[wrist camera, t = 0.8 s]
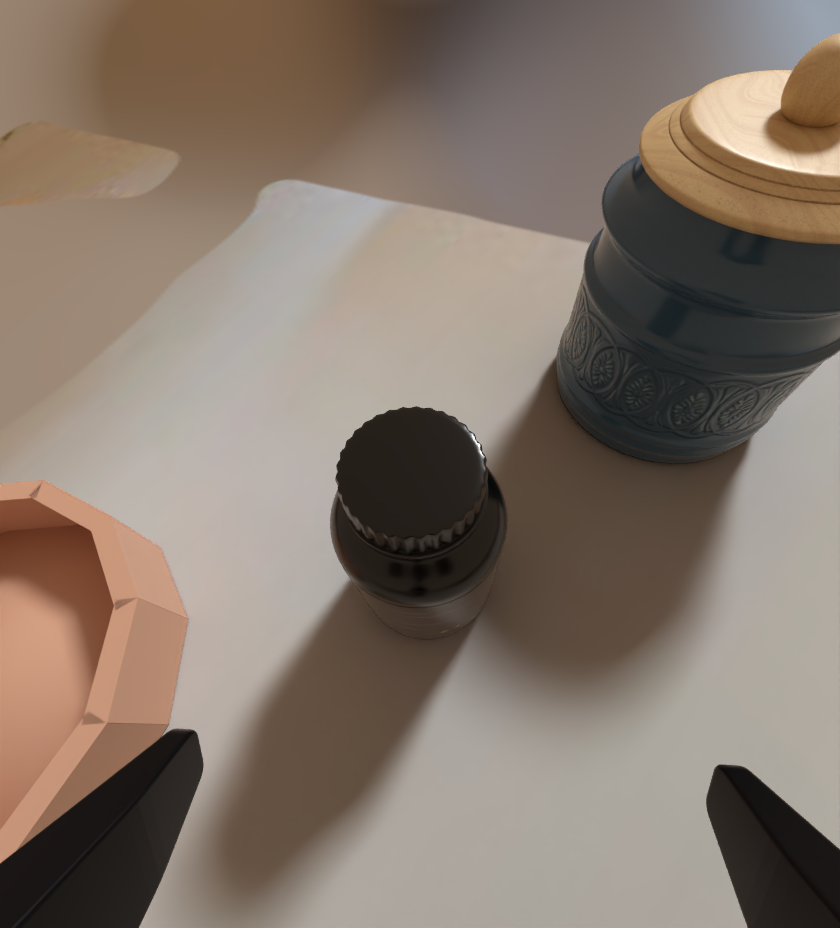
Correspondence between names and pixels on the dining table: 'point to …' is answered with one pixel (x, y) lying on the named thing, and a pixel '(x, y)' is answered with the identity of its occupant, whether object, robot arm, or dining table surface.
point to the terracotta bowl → (77, 653)
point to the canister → (712, 267)
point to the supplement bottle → (418, 521)
